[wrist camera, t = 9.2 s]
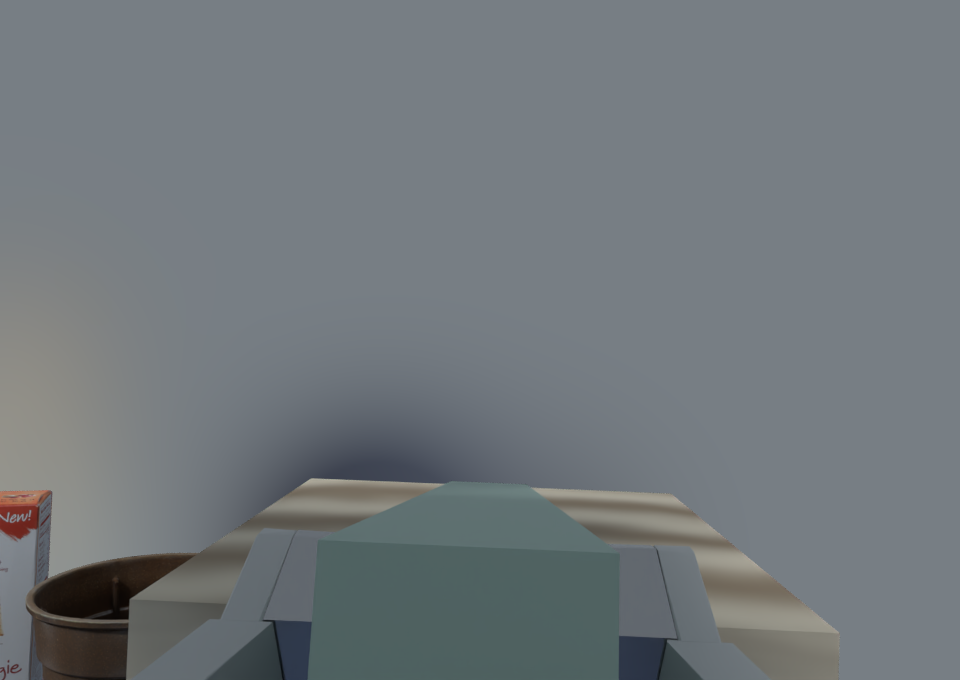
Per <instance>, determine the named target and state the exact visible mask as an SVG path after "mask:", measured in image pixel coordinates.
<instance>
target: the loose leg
mask: <svg viewBox="0 0 960 680" xmlns="http://www.w3.org/2000/svg"><path fill="white" fill-rule="evenodd" d="M619 577H620V553H619V552H617V551H616V550H614V549H613V548H612V547H610V546H609V545H608V544H606V543H605V542H604V541H602V540H601V539H600V538H598V537H597V536H596V535H594V534H593V533H592V532H590V531H589V530H587V529H586V528H585V527H583V526H582V525H581V524H579V523H578V522H577V521H575V520H574V519H573V518H571V517H570V516H569V515H567V514H566V513H565V512H563V511H562V510H560V509H559V508H558V507H556V506H555V505H554V504H552V503H551V502H550V501H548V500H547V499H546V498H544V497H543V496H542V495H540V494H539V493H538V492H536V491H535V490H533V489H532V488H531V487H529V486H528V485H526V484H504V483H503V484H501V483H480V482H456V481H451V482H449V483H446V484H444V485H442V486H439V487H437V488H435V489H433V490H430V491H428V492H426V493H423V494H421V495H419V496H417V497H414V498H412V499H410V500H408V501H405V502H403V503H401V504H399V505H396V506H394V507H392V508H389V509H387V510H385V511H383V512H380V513H378V514H376V515H374V516H371V517H369V518H367V519H364V520H362V521H360V522H358V523H355V524H353V525H351V526H349V527H346V528H344V529H342V530H340V531H337V532H335V533H333V534H330V535H328V536H326V537H324V538H321V539H319V540H318V545H317V559H316V572H315V586H314V599H313V613H312V626H311V639H310V653H309V666H308V680H619Z"/></svg>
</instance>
